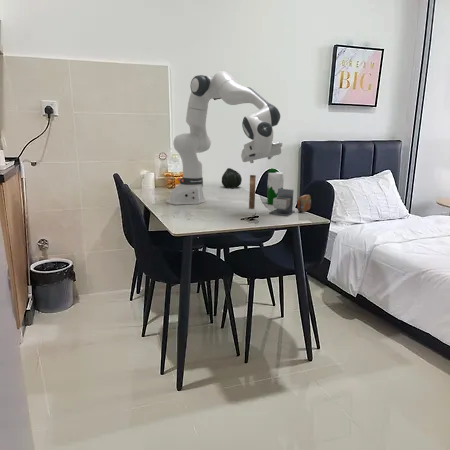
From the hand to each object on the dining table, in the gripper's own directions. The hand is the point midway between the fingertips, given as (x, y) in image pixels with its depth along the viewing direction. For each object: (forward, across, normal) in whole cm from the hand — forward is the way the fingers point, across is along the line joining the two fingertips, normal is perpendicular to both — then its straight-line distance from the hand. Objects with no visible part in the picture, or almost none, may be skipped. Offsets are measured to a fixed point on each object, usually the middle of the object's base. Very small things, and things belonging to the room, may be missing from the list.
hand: (260, 160), depth 211 cm
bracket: (+9, -5, +28) cm, 30 cm away
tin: (+16, -18, +27) cm, 36 cm away
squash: (+84, +9, -25) cm, 88 cm away
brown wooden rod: (+18, +8, +18) cm, 27 cm away
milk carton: (+32, -7, +14) cm, 36 cm away
